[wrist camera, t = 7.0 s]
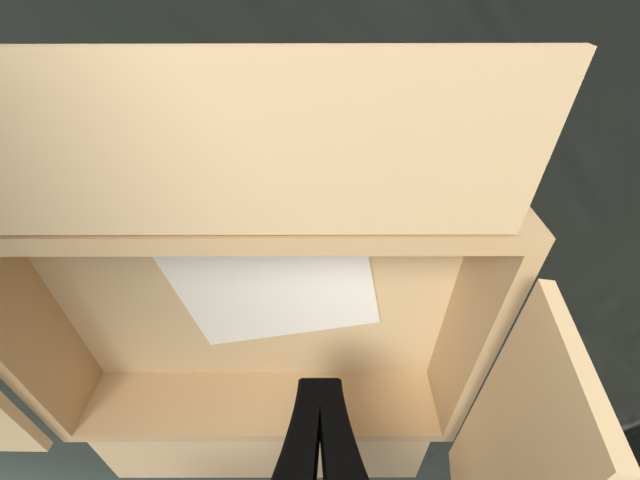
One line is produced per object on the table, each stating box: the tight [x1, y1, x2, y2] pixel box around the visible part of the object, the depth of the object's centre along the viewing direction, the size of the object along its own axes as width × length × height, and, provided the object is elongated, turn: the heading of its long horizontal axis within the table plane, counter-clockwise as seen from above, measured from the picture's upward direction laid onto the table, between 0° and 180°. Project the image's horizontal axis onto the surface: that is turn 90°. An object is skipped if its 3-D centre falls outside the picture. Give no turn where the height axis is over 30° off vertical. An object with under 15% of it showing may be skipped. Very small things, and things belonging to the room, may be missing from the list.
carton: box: [0, 43, 597, 478], centre depth 15 cm, size 21×18×4 cm
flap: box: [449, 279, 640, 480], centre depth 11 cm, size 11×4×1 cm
